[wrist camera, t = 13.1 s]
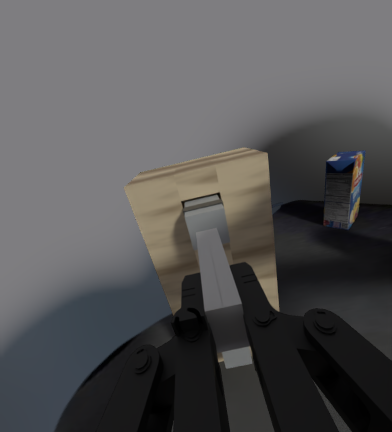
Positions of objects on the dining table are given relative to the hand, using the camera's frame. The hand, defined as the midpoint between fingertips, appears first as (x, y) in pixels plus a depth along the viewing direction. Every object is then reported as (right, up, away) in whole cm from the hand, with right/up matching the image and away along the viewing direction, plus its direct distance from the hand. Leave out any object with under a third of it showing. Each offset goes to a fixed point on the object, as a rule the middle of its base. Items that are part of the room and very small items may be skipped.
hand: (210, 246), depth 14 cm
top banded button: (+1, 0, +11) cm, 11 cm away
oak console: (+7, -24, +29) cm, 39 cm away
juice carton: (+53, 0, +59) cm, 79 cm away
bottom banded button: (+6, -22, +21) cm, 31 cm away
